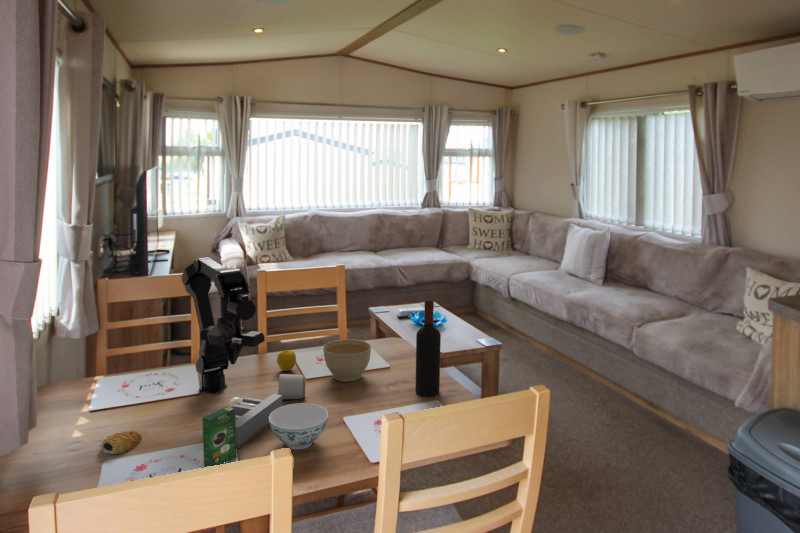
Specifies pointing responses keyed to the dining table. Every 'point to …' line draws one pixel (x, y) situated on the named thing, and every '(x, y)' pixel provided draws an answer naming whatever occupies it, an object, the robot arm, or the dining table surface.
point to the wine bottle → (428, 355)
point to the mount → (254, 417)
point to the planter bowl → (347, 358)
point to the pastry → (120, 442)
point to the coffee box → (219, 436)
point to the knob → (240, 402)
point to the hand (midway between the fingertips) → (233, 363)
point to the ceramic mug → (291, 386)
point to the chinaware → (298, 424)
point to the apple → (286, 360)
